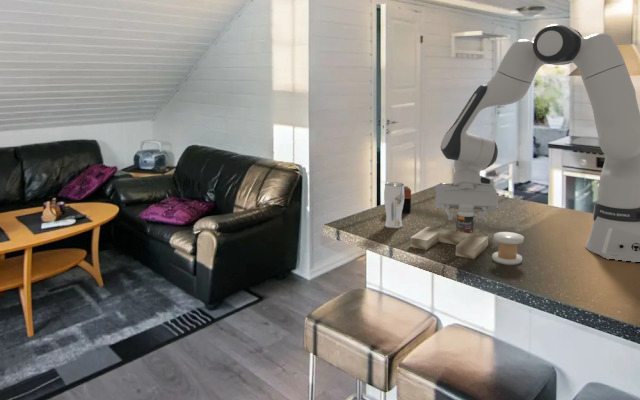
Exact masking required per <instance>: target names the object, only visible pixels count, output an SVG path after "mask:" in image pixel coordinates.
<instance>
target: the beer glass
mask: <svg viewBox="0 0 640 400" xmlns="http://www.w3.org/2000/svg"><path fill="white" fill-rule="evenodd" d="M404 186H405V184H404V183H403V182H398V181H397V182H395V181H394V182H386V183H385V184H384V190H383V191H384V192H383V201H384V202H383V203H384V208H385V222H384V223H385V224H384V227H385V228H386V229H396V230H397V229H401V228H403V221H402V217H403V216H402V215H403V213H402V210H403V205H404Z"/></svg>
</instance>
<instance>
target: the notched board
mask: <svg viewBox="0 0 640 400" xmlns="http://www.w3.org/2000/svg"><path fill="white" fill-rule="evenodd" d="M409 241H410V242H409V243H410V244H409V247H410V248H415V249H420V250H424V251H427V250H429V249H430V248H431V247H433V246H434V245H436V244H437V243H444V244H450V245H455V256H456V257H463V258H466V259H467V258H468V259H471V260H475V259H476V258H477V257H478V256H479V255H480V254H481V253H483V252H484V251H485V249H486V248H487V247H489V236H485V235H480V234H474V233H473V234H469V233H463V232H457V231H456V230H450V229H443V228H438V227H432V226H426V227H424V228H423V229H421V230H419V231H418V232H417V233H415V234H414V235H412V236H410V240H409Z"/></svg>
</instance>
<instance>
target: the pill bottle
mask: <svg viewBox="0 0 640 400" xmlns="http://www.w3.org/2000/svg"><path fill="white" fill-rule="evenodd" d="M473 209H474V206H473V205H472V204H459V209H458V210H457V212H456V221H455V223H456V224H455V231H457V232H463V233H469V234H474V232H475V217H476V216H475V212H474V210H473Z"/></svg>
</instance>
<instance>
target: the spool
mask: <svg viewBox="0 0 640 400" xmlns="http://www.w3.org/2000/svg"><path fill="white" fill-rule="evenodd" d="M493 240H494V241H495V242H497V243H498V247H497V249H498V250H497V251H496V252H493V253H492V255H491V256H492V257H491V259H492V260H493V262H495V263H498V264H502V265H506V266H508V265H509V266H515V265H519V264H522V262H523V256H522V255H520V254H518V246H519V245H520V244H523V243H524V241H525V237H524V236H523V235H522V234H519V233H517V232H512V231H511V232H510V231H499V232H495V233H494V234H493Z"/></svg>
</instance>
